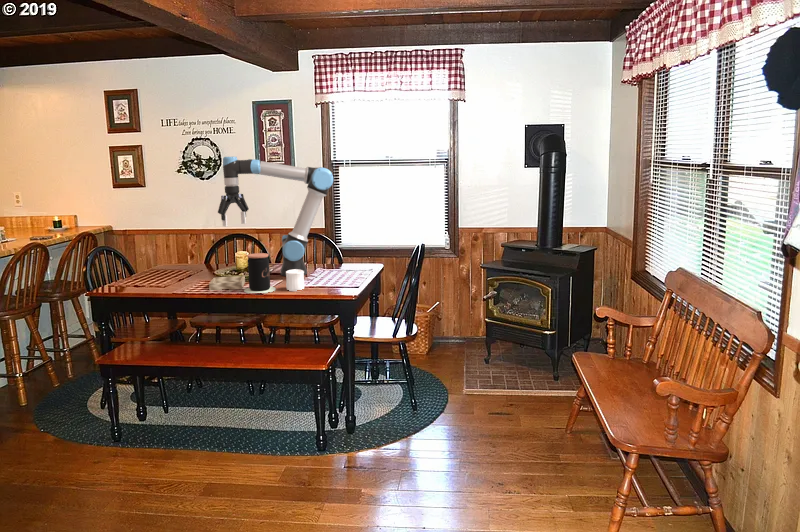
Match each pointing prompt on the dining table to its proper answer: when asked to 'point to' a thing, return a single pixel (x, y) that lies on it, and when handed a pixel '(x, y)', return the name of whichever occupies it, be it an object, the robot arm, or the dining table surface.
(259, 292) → the sage mat
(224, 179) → the robot arm
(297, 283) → the cup
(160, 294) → the dining table surface
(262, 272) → the coffee jar
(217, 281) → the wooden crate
